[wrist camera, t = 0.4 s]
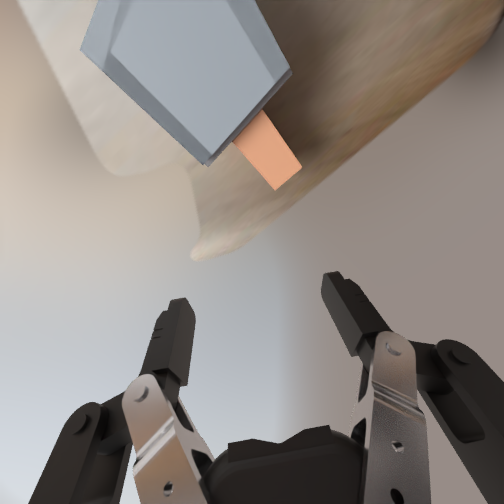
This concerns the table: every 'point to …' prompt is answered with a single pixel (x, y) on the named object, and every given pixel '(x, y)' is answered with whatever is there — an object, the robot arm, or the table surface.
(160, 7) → the block
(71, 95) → the table surface
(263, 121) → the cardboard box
